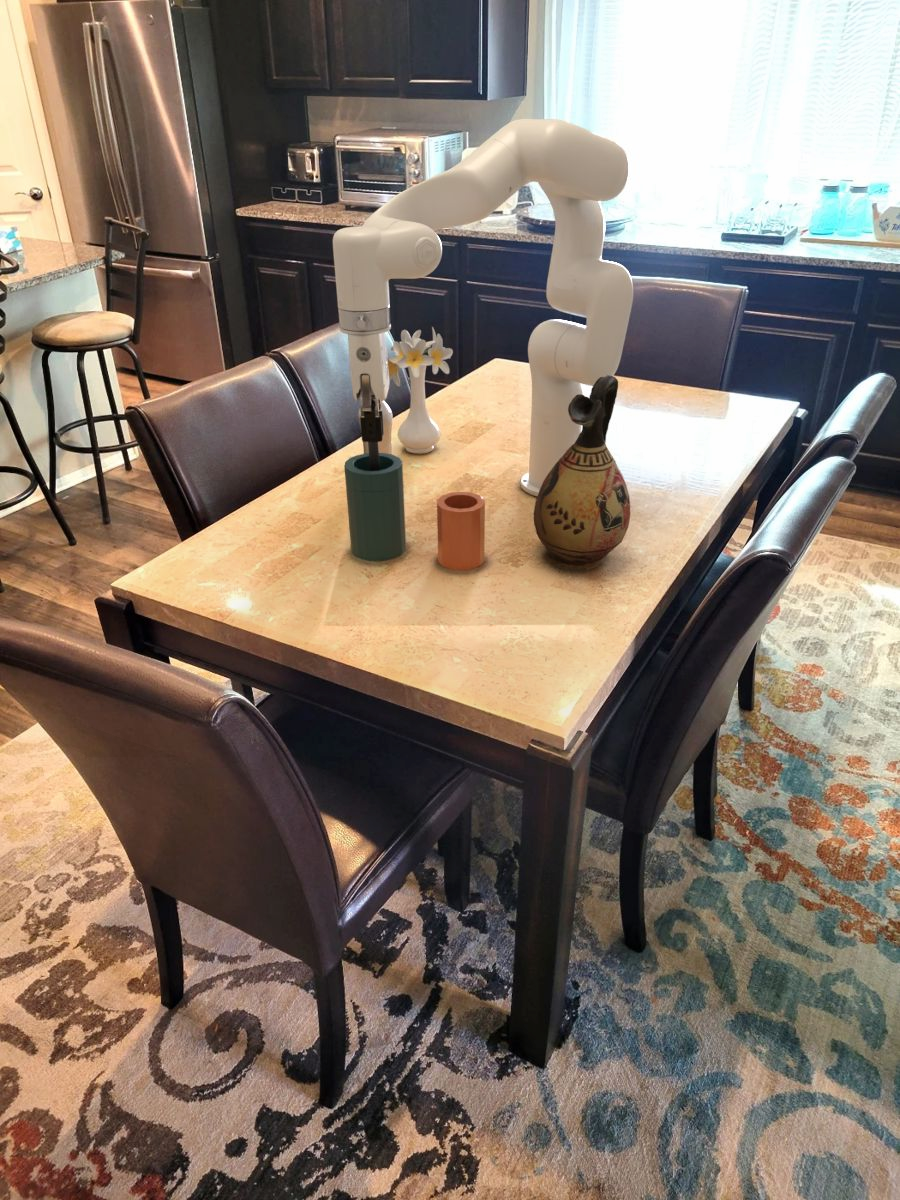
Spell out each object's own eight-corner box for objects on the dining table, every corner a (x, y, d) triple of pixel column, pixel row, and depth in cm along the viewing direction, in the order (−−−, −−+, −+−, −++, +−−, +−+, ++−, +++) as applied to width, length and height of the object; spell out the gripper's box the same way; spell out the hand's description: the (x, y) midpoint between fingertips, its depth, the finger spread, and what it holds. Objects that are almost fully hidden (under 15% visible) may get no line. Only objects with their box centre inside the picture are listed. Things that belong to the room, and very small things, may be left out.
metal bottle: (392, 495, 164) (387, 393, 154) (358, 492, 166) (351, 392, 155) (400, 482, 170) (396, 383, 160) (368, 480, 171) (361, 381, 161)
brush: (389, 530, 145) (381, 404, 133) (388, 538, 142) (380, 411, 130) (370, 530, 145) (361, 404, 133) (369, 539, 142) (359, 411, 130)
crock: (483, 551, 144) (484, 491, 139) (484, 573, 138) (485, 511, 132) (438, 551, 144) (437, 491, 139) (437, 573, 138) (436, 512, 132)
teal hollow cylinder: (407, 538, 148) (403, 452, 140) (404, 564, 141) (400, 474, 132) (354, 539, 149) (348, 452, 140) (348, 564, 141) (341, 474, 132)
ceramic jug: (603, 589, 133) (620, 402, 117) (515, 565, 140) (521, 385, 124) (643, 546, 145) (663, 371, 129) (560, 526, 152) (571, 358, 137)
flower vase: (371, 459, 181) (363, 340, 168) (415, 432, 194) (411, 320, 181) (423, 470, 175) (420, 347, 162) (466, 441, 189) (465, 326, 176)
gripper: (386, 332, 118) (393, 456, 128) (393, 306, 131) (399, 421, 141) (332, 333, 118) (343, 457, 128) (345, 307, 131) (354, 421, 141)
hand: (372, 437), depth 134 cm, fingers closed on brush, 1 cm apart
